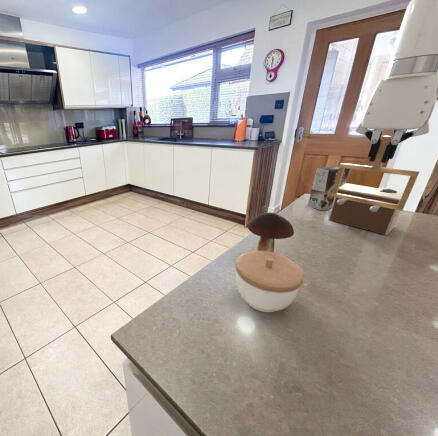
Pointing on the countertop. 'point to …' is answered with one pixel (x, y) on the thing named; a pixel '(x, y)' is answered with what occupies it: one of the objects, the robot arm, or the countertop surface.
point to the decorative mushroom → (269, 230)
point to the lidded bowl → (267, 280)
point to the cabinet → (365, 209)
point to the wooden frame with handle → (377, 168)
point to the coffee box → (325, 187)
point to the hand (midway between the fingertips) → (378, 160)
